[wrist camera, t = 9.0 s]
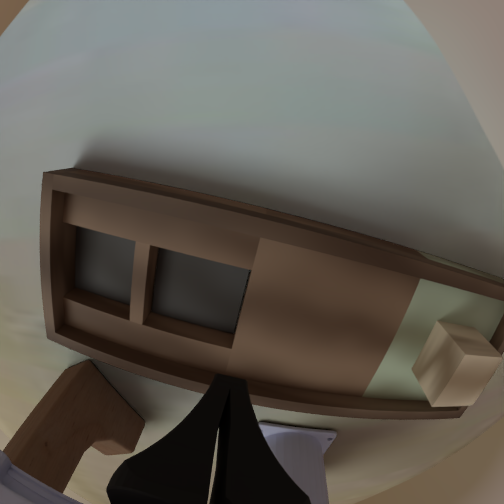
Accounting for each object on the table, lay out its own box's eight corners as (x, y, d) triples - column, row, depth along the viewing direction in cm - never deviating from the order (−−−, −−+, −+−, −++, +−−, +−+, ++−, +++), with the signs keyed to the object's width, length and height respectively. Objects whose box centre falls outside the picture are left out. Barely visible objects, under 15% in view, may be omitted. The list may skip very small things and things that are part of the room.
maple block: (449, 372, 21) (472, 405, 16) (411, 368, 20) (431, 406, 16) (474, 327, 19) (503, 357, 15) (436, 320, 19) (465, 354, 15)
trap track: (446, 395, 24) (459, 417, 21) (68, 318, 23) (47, 338, 20) (508, 280, 20) (530, 296, 17) (72, 167, 19) (43, 172, 16)
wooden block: (147, 422, 26) (90, 569, 9) (119, 427, 27) (61, 556, 10) (90, 357, 24) (-12, 503, 7) (65, 367, 25) (-28, 493, 8)
